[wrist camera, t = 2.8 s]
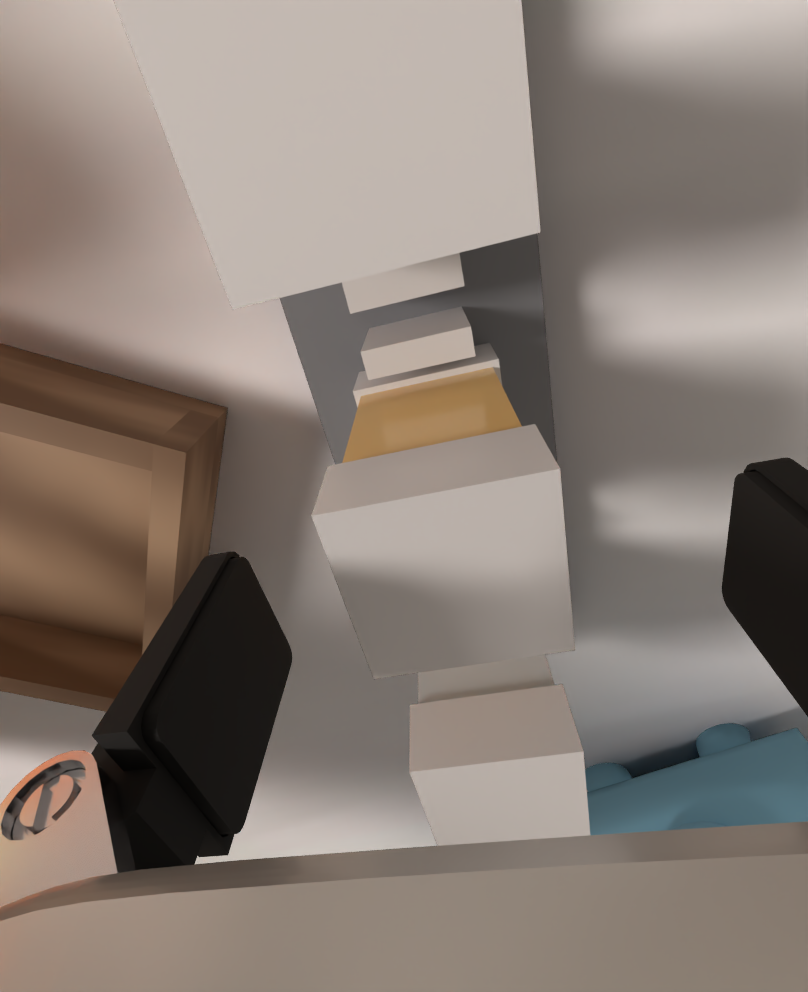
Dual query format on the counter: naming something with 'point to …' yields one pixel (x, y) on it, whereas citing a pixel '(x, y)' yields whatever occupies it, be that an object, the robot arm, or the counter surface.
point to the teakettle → (706, 786)
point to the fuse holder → (427, 330)
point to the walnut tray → (95, 521)
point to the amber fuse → (446, 523)
